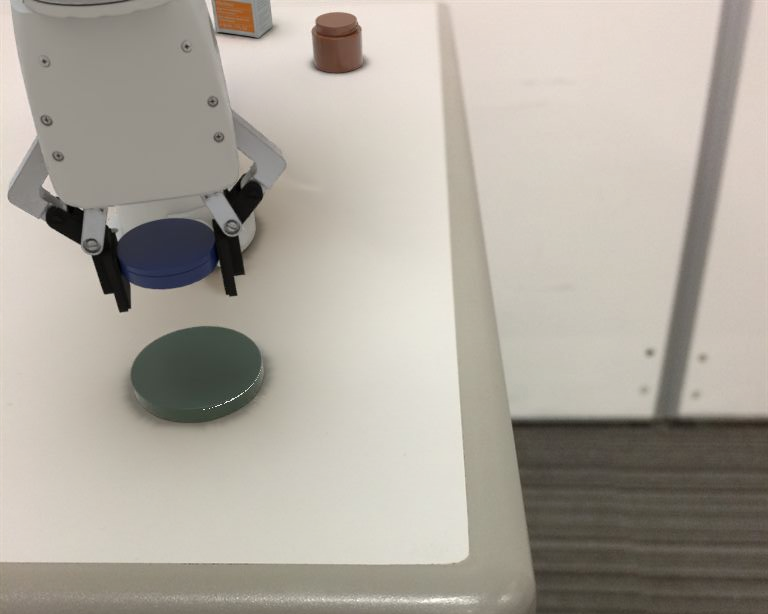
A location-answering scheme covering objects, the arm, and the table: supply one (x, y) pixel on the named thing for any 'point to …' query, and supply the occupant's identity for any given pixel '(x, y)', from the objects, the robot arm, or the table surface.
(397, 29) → the table surface
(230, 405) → the coaster
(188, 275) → the jar lid
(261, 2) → the cosmetic box
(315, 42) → the jar
